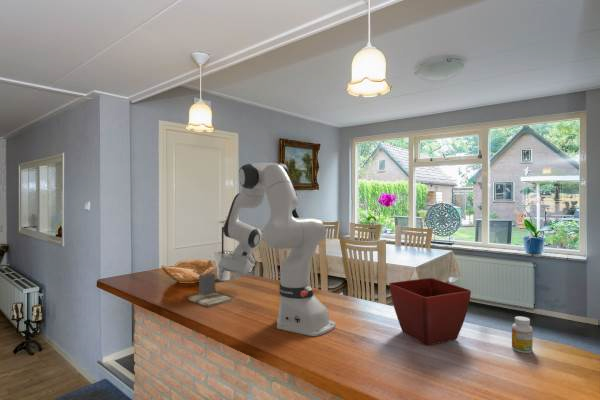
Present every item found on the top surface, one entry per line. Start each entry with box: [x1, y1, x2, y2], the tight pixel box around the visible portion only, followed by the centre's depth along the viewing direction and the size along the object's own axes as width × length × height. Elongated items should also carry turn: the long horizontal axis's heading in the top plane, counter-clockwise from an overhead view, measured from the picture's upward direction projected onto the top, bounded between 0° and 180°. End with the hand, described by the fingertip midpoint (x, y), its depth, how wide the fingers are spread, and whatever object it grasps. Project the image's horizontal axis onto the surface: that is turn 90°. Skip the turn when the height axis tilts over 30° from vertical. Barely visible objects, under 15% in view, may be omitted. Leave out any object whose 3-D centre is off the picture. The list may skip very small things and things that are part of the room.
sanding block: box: [198, 273, 216, 297], centre depth 164 cm, size 4×6×9 cm
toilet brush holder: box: [214, 226, 234, 282], centre depth 196 cm, size 11×11×30 cm
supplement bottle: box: [511, 315, 534, 354], centre depth 109 cm, size 5×5×10 cm
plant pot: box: [388, 277, 472, 346], centre depth 119 cm, size 19×19×17 cm
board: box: [187, 292, 233, 308], centre depth 160 cm, size 16×12×1 cm
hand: (225, 278), depth 173 cm, fingers open, 8 cm apart
